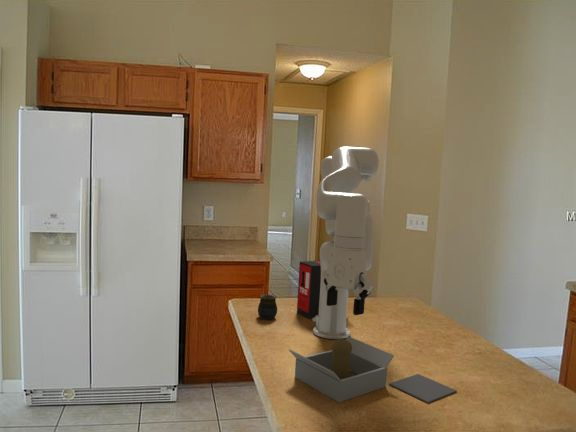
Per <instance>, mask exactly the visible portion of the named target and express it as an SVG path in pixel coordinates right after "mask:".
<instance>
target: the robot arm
mask: <svg viewBox="0 0 576 432" xmlns="http://www.w3.org/2000/svg"><path fill="white" fill-rule="evenodd" d="M379 161H380V160H379V155H378V153H377V151H376V150H375V149H374V148H371V147H361V146H359V147H357V146H341V147H338V148H337V149H335V150H334V151H333V152H332V154H331V155H329V156H326V157H324V158H323V159H322V161H321V164H320V175H321V181H320V182H319V185H318V187H317V189H316V198H315V200H316V202H315V205H316V206H315V209H316V213H317V216H318V217H319V218H320V219H322V220H324V221H325V231H326V233H327V235H328V236H330V237H333V239H332V240H328V241H325V242H323V243H322V244H321V246H320V248H319V261H320V264H321V284H320V301H319V315H316V316H315V318H313V319H311V321H312V322H313V323H315V326H314V327H313V329H312V333H313V334H314V335H315V336H317V337H320V338H324V339H329V340H338V339H344V340H345V339H347V337H348V336H349V337H351V330H350V329H349V328H347V320H348V319H347V317H348V302H349V291H352V293H353V294H354V297H355V298H354V300H353V309H352V310H353V311H352V314H353V315H354V316H359V315H364V314H365V302H366V301H365V300H366V299H367V298H368V296H369V295H370V294H371V292H372V289H373V288H374V286H375V285H374V284H375V283H373V281H371V280H370V279H369V278H368V277H367V271H369V270H370V269H371V268H372V263H373V250H374V249H373V245H374V219H373V216H372V214H371V213H370V210H371V203H370V200H369V199H368V197H367V196H366V195H364V194H362V193H354V192H353V191H355V190H356V189H357V188H358V187H359V186H360V184H361V183H362V184H365V183H366V184H367V183H369V182H371V181H372V180H373V178H374V177H375V175H376V174H377V172H378V169H379V163H380V162H379ZM351 192H352V193H351Z"/></svg>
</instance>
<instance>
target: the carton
mask: <svg viewBox="0 0 576 432" xmlns="http://www.w3.org/2000/svg"><path fill="white" fill-rule="evenodd" d="M345 340H347V341H349V342H350V343H351V344H352V351H351V353H350V354H349V355H350V370H351V373H353V374H355V375H351V377H349V378H345V379H342V380H340V379H339V377H338V376H337V375H336V374H335V373H334V372H333V371H331V370H330V369H331V364H332V359H333V353H334V352H333V351H332V349H331V350H326V351H322V352H319V353H318V352H317V353H314V354H310V355H309V354H308V355H306V356H305V355H304V356H303V355H302V354H300V353H298V352H296V351H294V350H292V349H288V352H290V353H291V354H292V356H293V357H294V358H295V367H294V368H295V369H294V378H295V379H297V380H299V381H301V382H302V383H304V384H306V385H308V386H310V387H311V388H313V389H314V390H316V391H319V392H320V393H321V394H323V395H325V396H327V397H328V398H330V399H332V400H334V401H335V402H337V403H341V402H344V401H347V400H350V399H353V398H356V397H358V396H362V395H365V394H368V393H371V392H374V391H376V390H377V391H378V390H380V389H383V388H386V385H387V383H386V382H387V374H388V372H387V371H388V367H389V365H390V363H391V362H392V360H393V358H394V357H395V355H394V354H392V353H390V352H387V351H385V350H383V349H380V348H377V347H375V346H373V345H371V344H368V343H366V342H364V341H362V340H358V339H356V338H353V337H351V336H348V337H347V338H345Z"/></svg>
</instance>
